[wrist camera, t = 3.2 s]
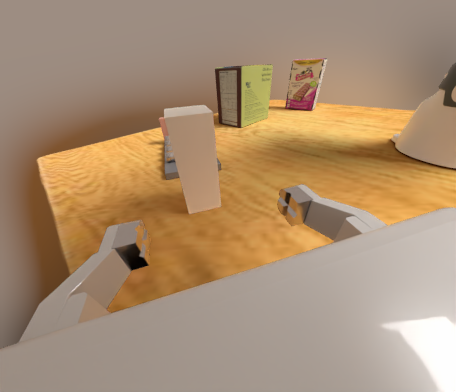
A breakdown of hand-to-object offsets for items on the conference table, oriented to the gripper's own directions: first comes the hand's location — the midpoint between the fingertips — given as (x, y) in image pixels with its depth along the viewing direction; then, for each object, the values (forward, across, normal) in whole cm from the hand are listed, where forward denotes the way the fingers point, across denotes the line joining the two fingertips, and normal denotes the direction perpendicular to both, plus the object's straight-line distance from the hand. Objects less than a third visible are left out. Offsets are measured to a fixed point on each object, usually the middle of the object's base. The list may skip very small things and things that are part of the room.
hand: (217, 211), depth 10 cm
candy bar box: (+59, -50, +8) cm, 78 cm away
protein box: (+52, -22, +8) cm, 57 cm away
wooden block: (+12, 0, +9) cm, 15 cm away
